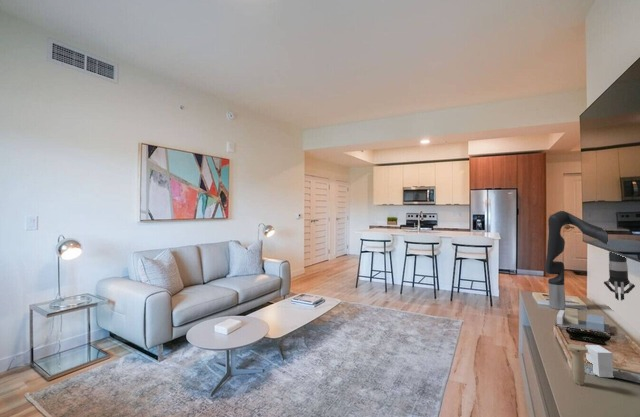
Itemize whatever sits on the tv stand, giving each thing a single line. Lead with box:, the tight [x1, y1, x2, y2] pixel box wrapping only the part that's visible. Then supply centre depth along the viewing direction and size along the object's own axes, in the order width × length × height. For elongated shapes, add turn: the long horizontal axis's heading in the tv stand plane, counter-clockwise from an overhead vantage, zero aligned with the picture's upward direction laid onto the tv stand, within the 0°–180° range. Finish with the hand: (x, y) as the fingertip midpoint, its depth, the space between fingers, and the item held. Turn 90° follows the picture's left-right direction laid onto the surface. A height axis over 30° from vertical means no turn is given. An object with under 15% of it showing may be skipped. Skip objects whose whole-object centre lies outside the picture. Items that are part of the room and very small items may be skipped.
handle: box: [566, 343, 588, 386], centre depth 125 cm, size 5×6×15 cm
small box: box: [585, 344, 615, 378], centre depth 132 cm, size 8×6×10 cm
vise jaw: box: [585, 313, 606, 332], centre depth 178 cm, size 16×8×4 cm, turn 136°
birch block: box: [564, 307, 580, 324], centre depth 185 cm, size 4×6×8 cm, turn 47°
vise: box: [554, 309, 610, 334], centre depth 182 cm, size 16×24×6 cm, turn 46°
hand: (619, 299), depth 171 cm, fingers closed
